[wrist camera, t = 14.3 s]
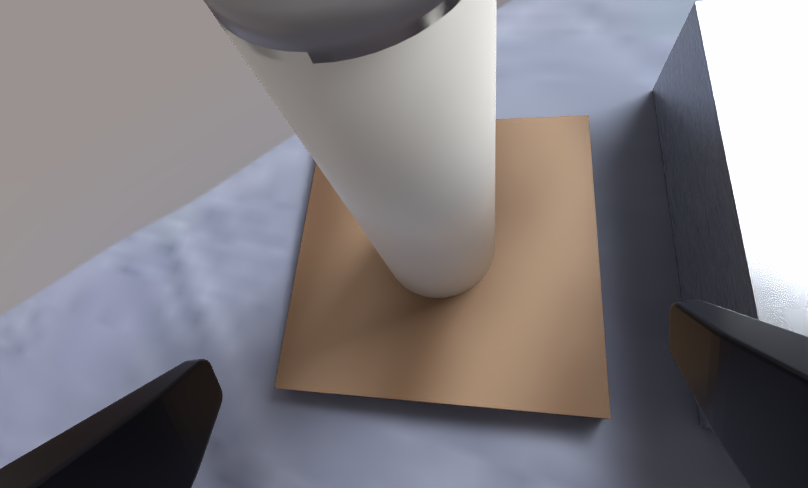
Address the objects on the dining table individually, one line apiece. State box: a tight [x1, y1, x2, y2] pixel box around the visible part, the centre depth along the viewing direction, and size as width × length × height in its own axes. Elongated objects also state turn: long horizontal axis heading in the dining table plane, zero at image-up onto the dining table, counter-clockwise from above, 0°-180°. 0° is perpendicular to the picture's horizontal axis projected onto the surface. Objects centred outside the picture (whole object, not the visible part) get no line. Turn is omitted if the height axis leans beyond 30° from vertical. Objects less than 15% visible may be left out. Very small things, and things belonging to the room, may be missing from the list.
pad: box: [274, 115, 611, 419], centre depth 18 cm, size 12×12×1 cm
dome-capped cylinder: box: [204, 0, 496, 298], centre depth 12 cm, size 4×4×13 cm
